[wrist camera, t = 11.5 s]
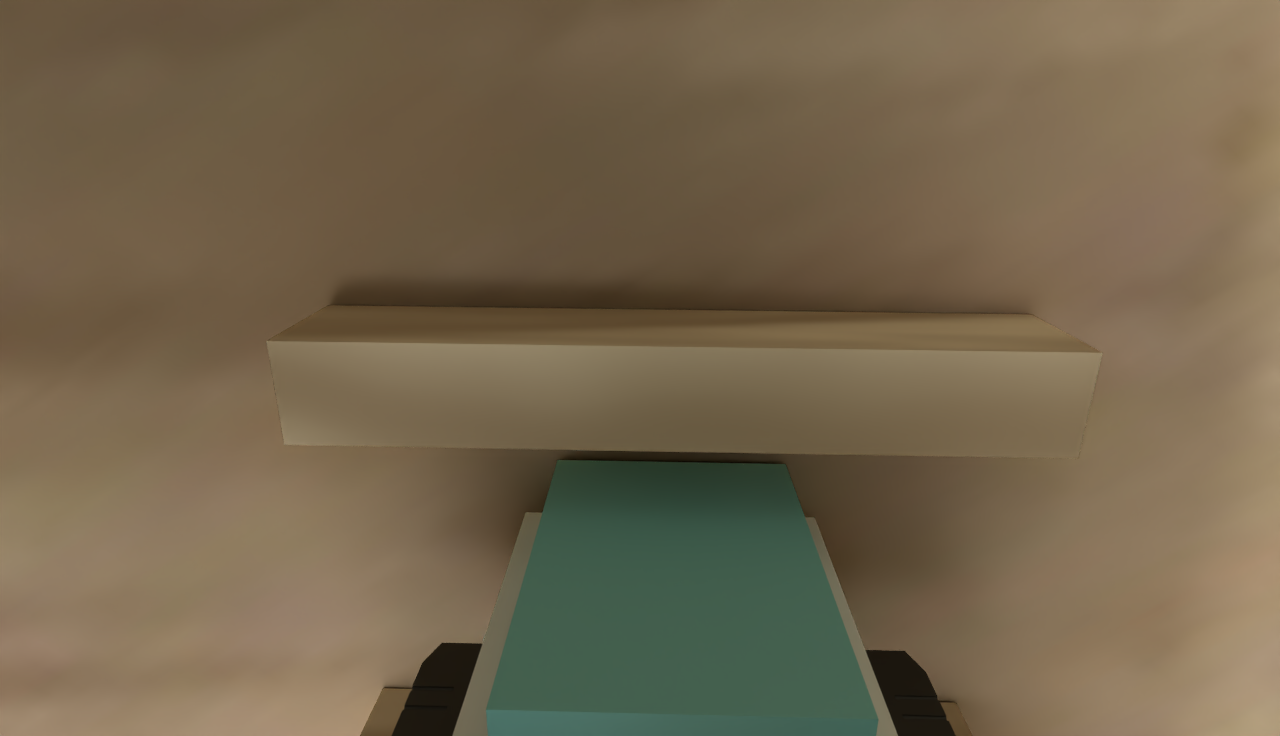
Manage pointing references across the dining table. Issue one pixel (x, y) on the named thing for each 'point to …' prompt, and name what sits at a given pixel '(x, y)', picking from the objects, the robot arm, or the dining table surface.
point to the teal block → (676, 611)
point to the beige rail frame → (682, 387)
